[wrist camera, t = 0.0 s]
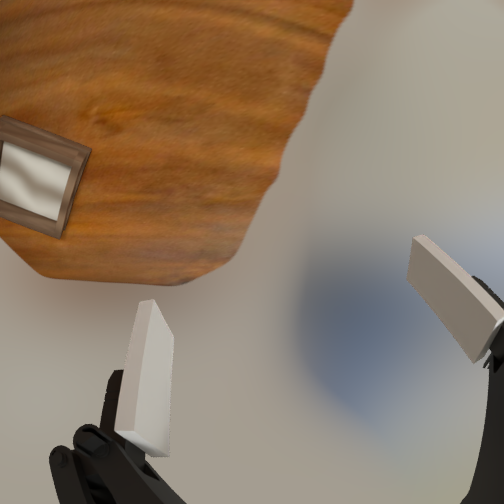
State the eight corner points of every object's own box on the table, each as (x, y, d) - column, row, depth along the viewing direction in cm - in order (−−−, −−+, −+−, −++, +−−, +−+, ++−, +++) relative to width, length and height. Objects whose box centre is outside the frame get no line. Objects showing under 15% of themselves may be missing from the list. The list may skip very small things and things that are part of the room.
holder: (3, 115, 22) (-9, 125, 20) (91, 148, 31) (84, 161, 29) (-7, 198, 31) (-16, 211, 28) (66, 226, 40) (60, 241, 37)
